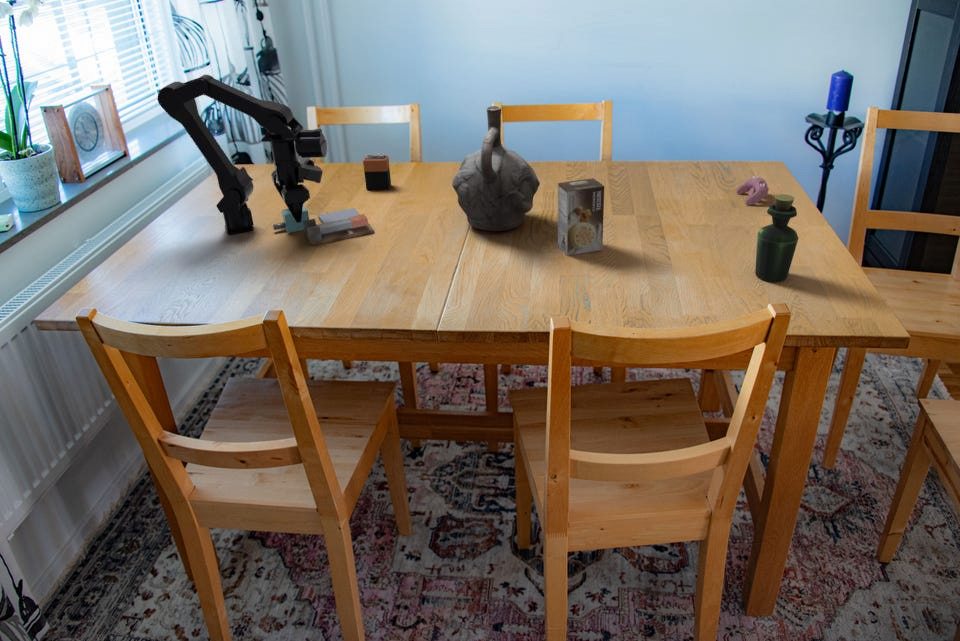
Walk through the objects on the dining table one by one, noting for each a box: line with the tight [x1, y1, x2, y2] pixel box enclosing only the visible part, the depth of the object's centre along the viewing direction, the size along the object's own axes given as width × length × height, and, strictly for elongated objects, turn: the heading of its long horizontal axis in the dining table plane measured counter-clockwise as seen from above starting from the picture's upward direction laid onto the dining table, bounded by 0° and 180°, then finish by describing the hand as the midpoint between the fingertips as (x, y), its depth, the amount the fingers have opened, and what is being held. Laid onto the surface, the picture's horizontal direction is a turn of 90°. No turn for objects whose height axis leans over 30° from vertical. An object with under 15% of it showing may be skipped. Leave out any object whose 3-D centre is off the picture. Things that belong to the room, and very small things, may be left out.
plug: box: [272, 205, 310, 234], centre depth 195 cm, size 9×4×5 cm, turn 113°
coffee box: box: [557, 177, 605, 256], centre depth 175 cm, size 9×6×16 cm
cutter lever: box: [311, 213, 369, 234], centre depth 190 cm, size 15×3×2 cm, turn 113°
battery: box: [362, 153, 392, 191], centre depth 218 cm, size 4×7×10 cm, turn 86°
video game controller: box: [735, 175, 770, 206], centre depth 201 cm, size 10×5×7 cm, turn 179°
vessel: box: [451, 105, 541, 232], centre depth 185 cm, size 24×22×30 cm
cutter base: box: [303, 218, 375, 246], centre depth 190 cm, size 16×6×4 cm, turn 113°
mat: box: [317, 207, 361, 224], centre depth 199 cm, size 10×10×1 cm
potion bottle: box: [754, 193, 799, 283], centre depth 158 cm, size 8×8×18 cm
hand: (295, 216), depth 195 cm, fingers open, 9 cm apart
